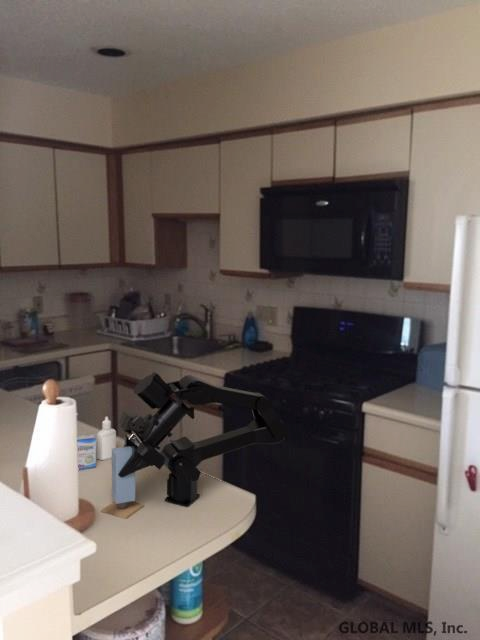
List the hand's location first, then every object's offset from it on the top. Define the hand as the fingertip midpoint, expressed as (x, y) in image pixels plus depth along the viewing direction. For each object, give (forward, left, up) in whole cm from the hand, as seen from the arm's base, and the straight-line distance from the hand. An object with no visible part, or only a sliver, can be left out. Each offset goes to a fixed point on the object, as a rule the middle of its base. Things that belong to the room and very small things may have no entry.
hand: (117, 472), depth 130 cm
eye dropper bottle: (+22, -24, -9) cm, 34 cm away
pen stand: (-1, -1, -9) cm, 9 cm away
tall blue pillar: (-1, -1, -7) cm, 7 cm away
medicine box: (+24, -15, -9) cm, 30 cm away
